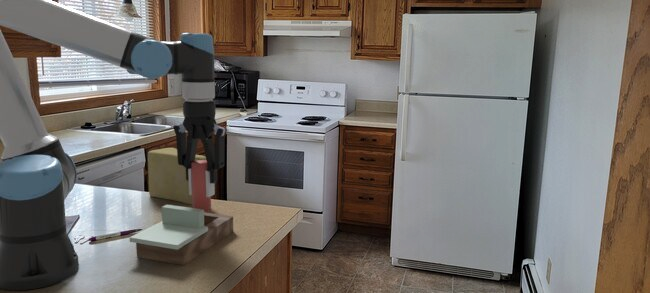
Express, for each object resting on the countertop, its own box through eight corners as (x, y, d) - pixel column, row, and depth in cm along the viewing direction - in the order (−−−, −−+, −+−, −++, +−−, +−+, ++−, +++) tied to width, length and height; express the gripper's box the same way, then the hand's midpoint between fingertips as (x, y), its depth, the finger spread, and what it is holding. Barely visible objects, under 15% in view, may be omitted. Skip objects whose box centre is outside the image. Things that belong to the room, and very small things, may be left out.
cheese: (220, 203, 149) (219, 155, 146) (194, 211, 141) (193, 160, 139) (173, 190, 162) (172, 145, 159) (148, 196, 154) (146, 149, 151)
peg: (205, 213, 119) (204, 165, 117) (189, 211, 121) (187, 163, 118) (214, 207, 124) (213, 161, 121) (199, 205, 125) (197, 159, 123)
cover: (177, 249, 103) (176, 226, 102) (129, 241, 107) (128, 219, 106) (208, 230, 114) (207, 210, 113) (164, 224, 118) (163, 204, 117)
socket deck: (183, 265, 106) (182, 247, 105) (136, 256, 109) (135, 239, 109) (233, 231, 126) (233, 216, 126) (192, 225, 130) (192, 210, 129)
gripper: (238, 100, 118) (240, 194, 122) (177, 96, 123) (180, 187, 128) (223, 103, 111) (225, 202, 115) (158, 99, 116) (163, 195, 121)
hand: (202, 194), depth 121 cm, fingers closed on peg, 4 cm apart
